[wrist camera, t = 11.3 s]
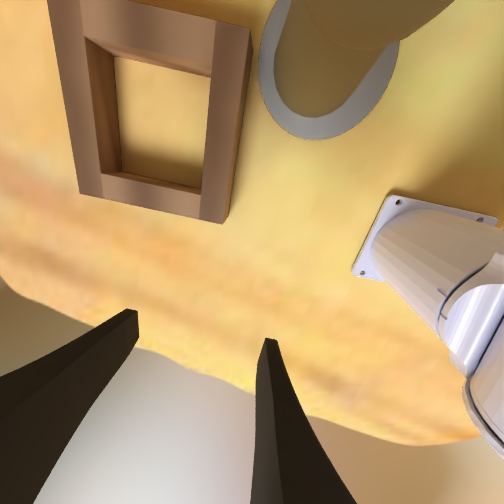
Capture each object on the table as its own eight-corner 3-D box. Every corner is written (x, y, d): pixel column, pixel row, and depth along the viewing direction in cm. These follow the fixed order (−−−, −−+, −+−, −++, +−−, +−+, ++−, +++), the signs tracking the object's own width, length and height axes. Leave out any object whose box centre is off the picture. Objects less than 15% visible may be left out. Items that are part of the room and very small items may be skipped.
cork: (287, -13, 12) (381, -872, 2) (384, 13, 12) (922, -676, 2) (263, 107, 15) (252, -8, 5) (343, 126, 15) (501, 56, 5)
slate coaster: (422, -14, 12) (429, -22, 11) (359, 151, 16) (362, 151, 15) (276, -48, 12) (276, -58, 11) (247, 126, 16) (247, 125, 15)
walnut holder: (253, 50, 14) (249, 28, 11) (227, 216, 19) (222, 224, 17) (81, 10, 14) (43, -20, 11) (102, 189, 19) (79, 193, 16)
